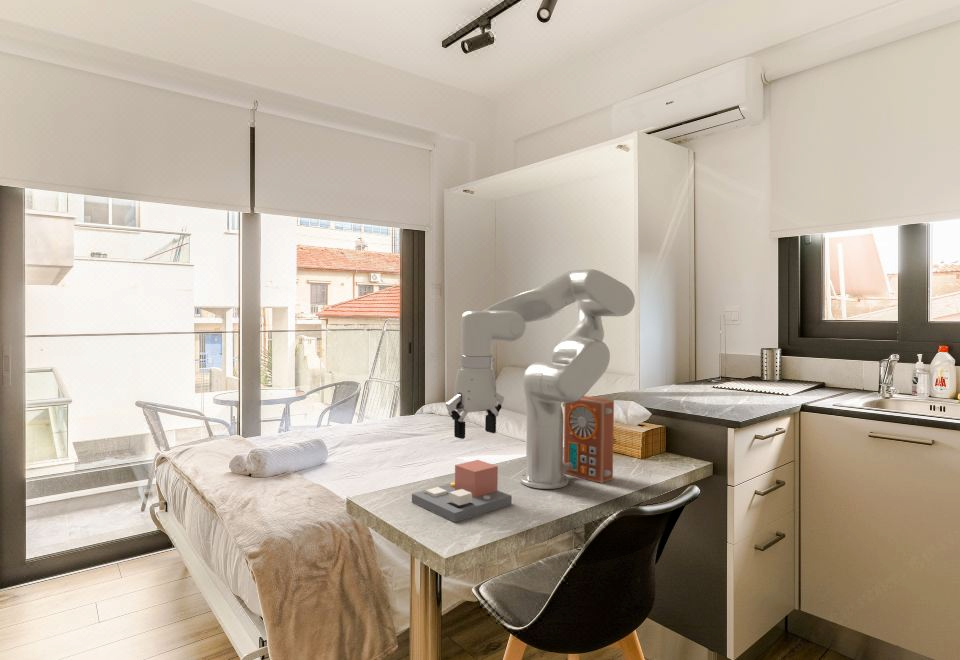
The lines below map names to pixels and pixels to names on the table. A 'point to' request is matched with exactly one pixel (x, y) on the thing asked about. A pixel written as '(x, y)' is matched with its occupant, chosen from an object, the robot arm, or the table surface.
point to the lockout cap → (476, 477)
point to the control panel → (589, 438)
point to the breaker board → (468, 510)
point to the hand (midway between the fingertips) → (475, 434)
